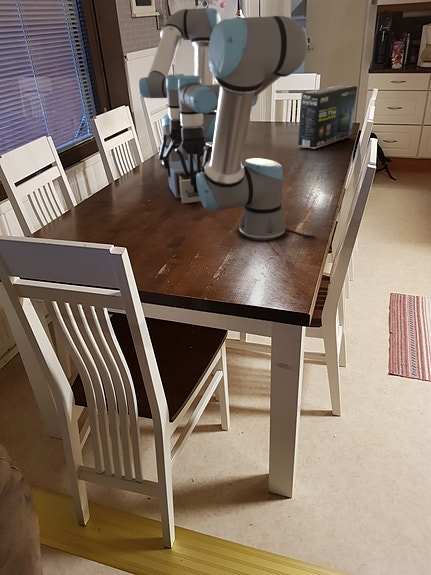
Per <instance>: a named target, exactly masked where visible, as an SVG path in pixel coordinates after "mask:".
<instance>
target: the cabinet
mask: <svg viewBox="0 0 431 575" xmlns="http://www.w3.org/2000/svg"><path fill="white" fill-rule="evenodd" d="M185 163H186V166H187V169H188V172H189V161H188V160H185ZM193 166H194V172H196V162H195V159H193ZM169 168H170V177H168V176H167V177H168V187H169V189H170V191H171V192H172V193H173V195H174V197H175V199H180V198H181V196H180V194H179V193H178V187H177V176H176V174H182V173H184V170H183V167H182V164H181V161H175V162H169ZM201 169H202V167H201Z"/></svg>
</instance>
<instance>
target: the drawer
mask: <svg viewBox="0 0 431 575" xmlns="http://www.w3.org/2000/svg"><path fill="white" fill-rule="evenodd" d="M194 175H197V173H196V172H194ZM176 176H177V187H178V193H179V194H180V196H181V197H180V198H181V203H182V204H187V203H196V202H197V203H198V202H201V200H200V197H199V193H198V192H194V189H193V186H191V184H190V176H186V175H185V173H182V174H176Z"/></svg>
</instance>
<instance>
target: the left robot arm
mask: <svg viewBox="0 0 431 575" xmlns="http://www.w3.org/2000/svg"><path fill="white" fill-rule="evenodd" d="M221 20H222V18H221V15H220V12H219V10H218V9H216V8H214V7H213V8H211V7H201V8H183V9H179V10H177V11H175V12H174V13H172V15H170V16H169V17H168V18H167V19H166V21H165V22H164V24H163V25H162V27H161V31H160V41H159V44H158V47H157V49H156V51H155V55H154V58H153V61H152V64H151V66H150V69H149V72H148V74H147V77H146V76H145V77H141V78H140V79H139V80H138V92H139V95H140V96H141V97H142V98H143V99H167V108H168V109H167V110H168V113H167V114H164V115H163V116H162V118H161V130H162V135H161V136H162V141H161V144H160V146H158V150H159V153H158V159H159V160H160V161H161V166H163V167H164V169H165V170H166V174H167V175H166V176H167V177H170V168H169V162H175V161H180V158H179V155H178V154H177V152H176V151H175V149H176V148H178V147H180V146H181V142H182V132H181V128H182V127H183V126H181V118H180V105H179V93H178V78H179V77H181V76H186V75H185V74H183V73H171V74H170V71H171V68H172V65H173V62H174V59H175V57H176V53H177V50H178V47H180V46H181V45H182V43H183V41H190V44H191V46H192V47H193V49H194V75H197V76H200V78H201V83H202V85H213V84H215V76H213V74H212V73H211V71H210V67H209V60H208V59H209V55H208V48H209V41H210V37H211V34H212V31H213V29H214V27H215V26H216V24H218V23H219V22H220V21H221ZM216 115H217V110H216V111H211V112H210V113H207V114H203V125H202V126H203V129H204V140H205V142H206V143H207V142H213V140H214V132H215V123H216ZM182 150H183V153H182V155H183V157H184V160H188V154H187V152H186V151H185V150H184V149H182ZM204 152H205V150H204V149H203V150H202V151H201V153H200V158H202V157H204ZM194 161H195V162H196V158H195V157H194Z"/></svg>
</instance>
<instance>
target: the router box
mask: <svg viewBox="0 0 431 575" xmlns="http://www.w3.org/2000/svg"><path fill="white" fill-rule="evenodd" d="M357 93H358V86H356V85H350V84H339V85H338V84H337V85H334V86H328V87H324V88H318V89H314V90H309V91H304V92H301V93H300V109H299V110H300V111H299V124H298V137H297V146H298V145H302V146H307V147H317V146H320V145H323V144H325V143H328V142H331V141H333V140H336V139H338V138H341V137H344V136H347V135H351V136H352V133H353V132H352V131H353V125H354V115H355V109H356V99H357ZM311 151H313V150H312V149H311Z"/></svg>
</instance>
